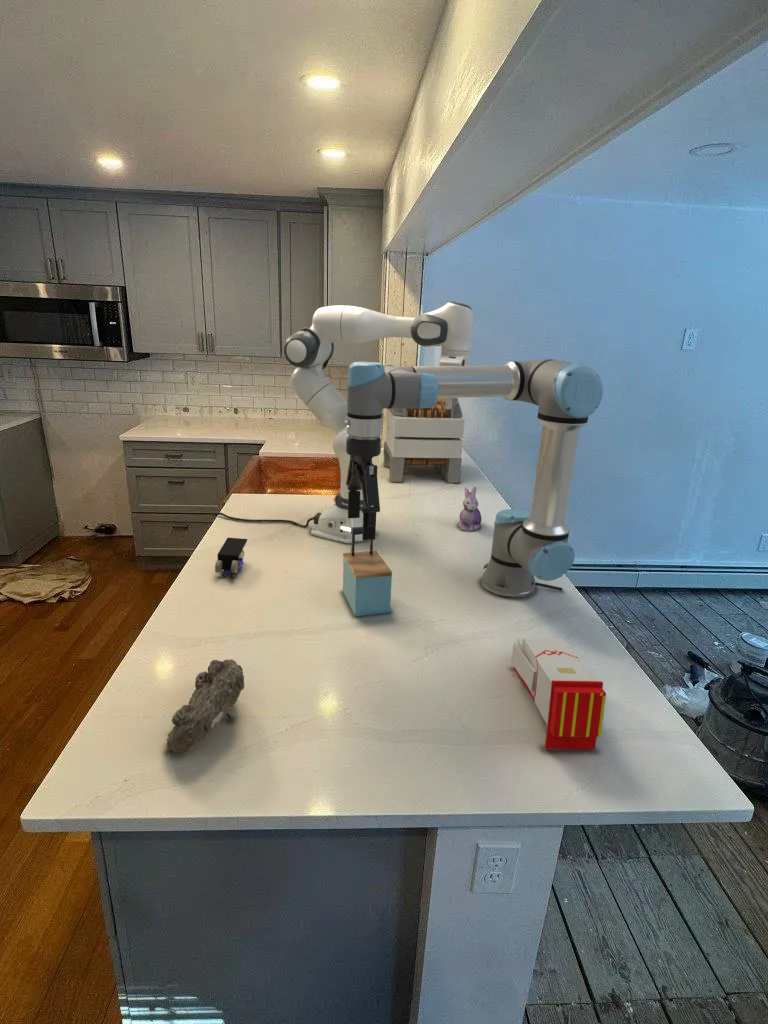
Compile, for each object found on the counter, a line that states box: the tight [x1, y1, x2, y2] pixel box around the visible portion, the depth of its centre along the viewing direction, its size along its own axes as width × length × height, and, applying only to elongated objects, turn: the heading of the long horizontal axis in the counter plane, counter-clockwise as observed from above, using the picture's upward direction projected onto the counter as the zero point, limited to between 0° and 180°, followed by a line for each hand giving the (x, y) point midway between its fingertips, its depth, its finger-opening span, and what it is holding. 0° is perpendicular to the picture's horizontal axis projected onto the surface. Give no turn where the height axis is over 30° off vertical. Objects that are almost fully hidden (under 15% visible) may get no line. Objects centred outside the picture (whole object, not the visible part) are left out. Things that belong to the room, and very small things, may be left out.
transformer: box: [383, 398, 465, 484], centre depth 268 cm, size 34×33×41 cm
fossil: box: [166, 658, 245, 754], centre depth 106 cm, size 22×10×15 cm
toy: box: [510, 637, 607, 751], centre depth 115 cm, size 12×13×30 cm
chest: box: [342, 556, 393, 617], centre depth 151 cm, size 14×10×11 cm
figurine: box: [458, 486, 482, 532], centre depth 206 cm, size 9×10×15 cm
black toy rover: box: [214, 537, 248, 578], centre depth 166 cm, size 7×8×15 cm
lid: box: [342, 527, 393, 579], centre depth 148 cm, size 14×10×9 cm
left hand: (451, 406), depth 174 cm, fingers open, 8 cm apart
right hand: (360, 528), depth 129 cm, fingers open, 13 cm apart
